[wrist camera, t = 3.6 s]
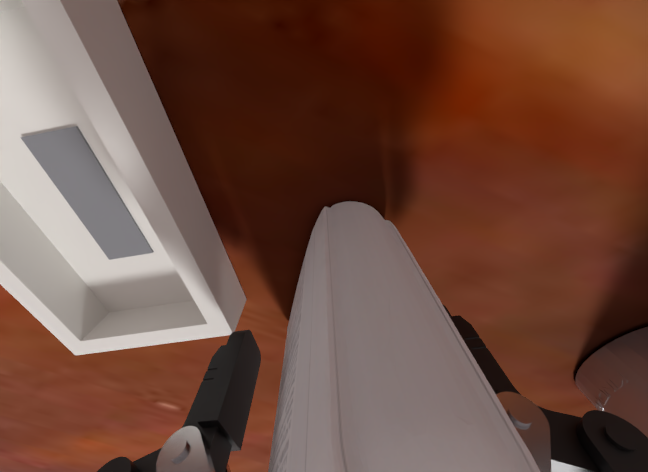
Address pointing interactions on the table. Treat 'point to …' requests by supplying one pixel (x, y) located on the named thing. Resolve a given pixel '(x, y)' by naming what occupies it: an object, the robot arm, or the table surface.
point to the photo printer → (381, 365)
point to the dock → (100, 189)
